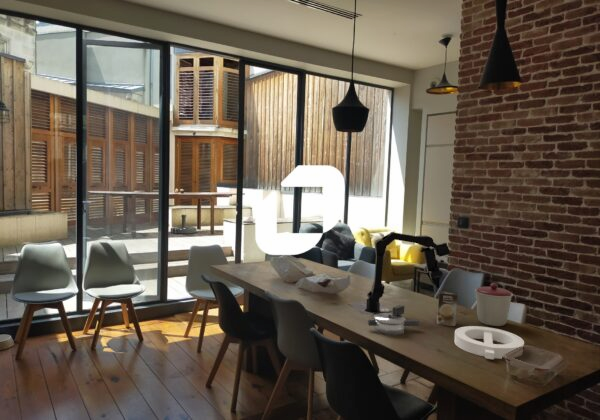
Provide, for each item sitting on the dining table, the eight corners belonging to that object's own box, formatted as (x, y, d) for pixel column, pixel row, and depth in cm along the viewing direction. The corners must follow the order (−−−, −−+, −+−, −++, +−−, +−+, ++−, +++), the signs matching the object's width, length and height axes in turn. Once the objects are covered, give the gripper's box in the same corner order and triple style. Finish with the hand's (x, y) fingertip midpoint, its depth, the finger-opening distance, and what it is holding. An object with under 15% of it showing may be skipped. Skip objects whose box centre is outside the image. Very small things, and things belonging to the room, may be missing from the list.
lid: (367, 319, 210) (368, 309, 210) (388, 311, 224) (389, 302, 224) (395, 326, 200) (395, 316, 200) (415, 318, 214) (415, 308, 214)
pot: (364, 325, 216) (364, 315, 216) (411, 325, 219) (412, 315, 219) (372, 335, 203) (372, 324, 202) (422, 335, 206) (423, 324, 205)
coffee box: (436, 324, 223) (438, 293, 222) (436, 320, 229) (438, 290, 228) (455, 326, 220) (457, 295, 219) (455, 323, 226) (457, 292, 225)
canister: (481, 316, 241) (483, 278, 239) (516, 324, 228) (519, 284, 227) (467, 322, 228) (469, 282, 227) (502, 331, 215) (505, 289, 214)
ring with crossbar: (489, 363, 176) (490, 351, 175) (440, 339, 201) (441, 329, 201) (538, 354, 187) (539, 343, 186) (486, 333, 212) (487, 323, 212)
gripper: (449, 258, 230) (455, 287, 230) (441, 253, 249) (446, 280, 249) (428, 262, 231) (434, 291, 231) (421, 257, 250) (427, 283, 250)
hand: (436, 286), depth 240 cm, fingers open, 9 cm apart
